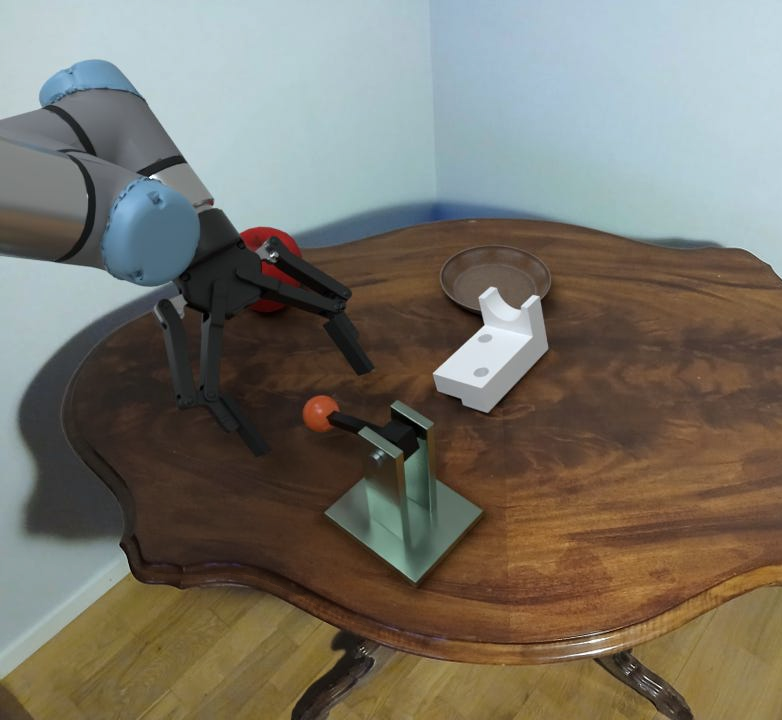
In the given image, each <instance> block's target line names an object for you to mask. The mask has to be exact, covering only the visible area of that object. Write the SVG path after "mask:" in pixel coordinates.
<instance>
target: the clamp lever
mask: <svg viewBox="0 0 782 720" xmlns="http://www.w3.org/2000/svg"><path fill="white" fill-rule="evenodd" d="M302 420H303V422H304V424H305V425H306V426H307V427H308V429H310V430H312V431H313V432H317V433H327V432H329V431H331V430H333V429H334V428H338V429H341V430H343V431H346V432H349V433H352V434H353V435H356V436H358V432H359V431H360V430H362V429H363V428H364V427H365V426H366V427H368V428H369V429H371V430H372V431H374V432H375V433H377V434H378V435H380V436H381V437H383V438H384V439H386V440H387V441H389V442H390V443H392V444H393V445H395V446H396V447H398V448H399V449H401V450H402V451H403V456H404V462H405V461H406V460H407V459H408V458H410V457H411V456H412V455H413V454H414V453H415V452H416V451H417V450H418V449H419V448H420V445H419V443H418V440H417V438H416V435H415V432H414V430H413V427H411V426H408V425H405V424H402V423H399V422H396V421H393V420H389V421H388V422H387V423H386V424H384V426H381V425H377V424H375V423H372V422H369V421H366V420H363V419H360V418H357V417H355V416H352V415H350V414H346V413H343V412H341V409H340V406H339V404H338V402H337V401H336V400H335V399H333V398H332V397H330V396H328V395H323V394H322V395H319V394H318V395H315V396H312V397H311V398H310V399H309V400H307V401H306V402H305V404H304V406H303V407H302Z"/></svg>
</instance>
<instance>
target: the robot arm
mask: <svg viewBox="0 0 782 720" xmlns="http://www.w3.org/2000/svg"><path fill="white" fill-rule="evenodd" d="M38 102H39V103H40V106H41V108H38V109H35V110H31V111H27V112H23V113H20V114H17V115H13V116H9V117H5V118H2V119H0V257H6V258H15V259H22V260H31V261H39V262H40V261H41V262H49V263H55V264H62V265H69V266H70V265H71V266H77V267H78V266H79V267H88V268H93V269H97V270H101V271H104V272H106V273H108V274H109V275H110V276H112V277H113V278H114V279H116V280H117V281H118V280H119V281H126V282H128V283H131V284H134V285H136V286H139V287H144V288H147V287H148V288H154V287H160V286H163V285H165V284H169V283H171V282H172V283H173V284H174V285H175V286H176V288H177V290H178V295H176V296H173V297H171V298H169V299H168V298H161V299H160V300H159V301H158V302H157V303H156V304H155V305H154V306H153V308H152V310H151V313H152V315H153V317H154V319H155V321H156V322H157V324H158V325H159V327H160V329H161V330H162V334H163V340H164V345H165V350H166V351H165V352H166V357H167V362H168V367H169V372H170V373H169V374H170V378H171V383H172V389H173V395H174V400H175V405H176V408H177V409H178V410H179V411H181V412H185V411H189V410H191V409H196V408H203V409H205V410H206V411H207V413H208V414H209V415H210V416H211V418H212V419H213V421H214V422H216V423H215V424H216V425H218V427H219V428H220V429H221V431H222V432H224V433H226V434H228V435H229V434H232V433H233V432H236V434H237V435H238V436H239V438H241V440H242V441H243V442H244V444H245V445H246V446H247V448H248V449H249V451H251V453H252V454H253V455H254V457H255V458H258V457H262V456H265V455H267V454H269V453H270V452H271V451H273V449H272V447H271V446H270V445H269V443H268V442H267V441H266V439H265V438H264V437H263V436H262V434H261V433H260V432H259V430H258V429H257V428H256V426H255V425H254V424H253V422H252V421H251V419H250V418H249V417H248V416H247V414H246V413H245V412H244V410H243V409H242V407H241V406H240V405H239V403H237V401H236V399H235V398H234V397H233V395H232V394H230V392H229V391H227V392H226V393H224V394H223V395H221V396H220V395H219V394H220V380H221V379H220V378H221V377H220V376H221V360H222V346H223V345H222V344H223V330H224V326H225V322H226V320H227V321H230V320H231V319H233V318H234V317H236V316H237V315H238V314H240V313H241V312H242V311H243V310H246V309H249V307H250V306H252V305H253V304H255V303H256V302H257V301H258V300H260V299H264V300H272V301H275V302H278V303H281V304H284V305H286V306H288V307H291V308H294V309H297V310H300V311H303V312H306V313H310V314H312V315H315V316H317V317H322V318H325V319H328V321H326V322H324V324H322V327H323V329H324V330H325V332H326V333H327V335H328V336H329V337H330V339H331V341H333V343H334V344H335V346H336V347H337V348H338V350H339V351H340V353H341V354H342V356H343V357H344V358H345V360H346V361H347V363H348V364H349V366H350V367H351V368H352V370H353V371H354V372H355V374H356V375H357V377H361V376H363V375H366V374H369V373H371V372H373V370H376V366H375V365H374V364H373V362H372V361H371V360H370V358H369V357H368V356H367V354H366V353H365V351H364V349H363V348H362V347H361V345H360V344H359V342H358V341H357V340H359V339H360V338H361V335H360V332H359V331H358V329H357V327H356V326H355V325H354V323H353V322H352V320H351V319H350V317H348V315H347V313H346V312H345V310H346V309H347V303H348V301H349V300H350V299H351V298H352V296H353V291H352V290H351V289H350V288H349V287H347V286H346V285H345V284H343V283H341V282H340V281H338V280H337V279H335V278H333V277H332V276H330V275H328V274H326V273H325V272H323V271H322V270H320V269H319V268H318V267H316V266H314V265H313V264H311V263H310V262H308V261H306V260H305V259H303V257H302V258H300V257H298V256H297V255H295V254H294V253H292V252H291V251H290V250H289V249H288V248H287V247H286V246H285V244H284V243H283V242H282V241H281V240H280V239H279V238H278V237H277V236H271V237H270V238H269V239H268V240H267V241H266V242H265V243H264V244H263V245H262V246H261V247H260V248H259V249H257V250H256V251H255V252H254V251H252V250H251V249H249V248H248V247H247V246H246V245H245V243H244V241H243V239H242V237H241V236H240V234H239V233H240V232H239V231H238V230H237V229H236V228H237V227H235V225H234V224H233V223H232V221H231V219H229V217H228V216H227V215H226V213H225V212H224V210H223V209H222V208H218V207H213V206H214V205H215V200H216V199H215V197H214V196H213V195H212V194H211V192H210V191H209V190H208V188H207V186H206V185H205V183H204V182H203V181H202V180H201V178H200V177H199V175H198V174H197V173H196V171H195V170H194V169H193V167H192V166H191V165H190V163H189V162H188V161H187V160H186V158H185V156H184V155H183V153H182V152H181V151H180V149H179V147H177V145H176V143H175V142H174V140H173V139H172V138H171V136H170V135H169V134H168V132H167V131H166V129H165V128H164V126H163V125H162V123H161V122H160V120H159V119H158V118H157V116H156V115H155V113H154V112H153V110H152V109H151V107H150V106H149V103H148V102H147V99H146V98H145V97H143V95H142V94H141V93H140V92H139V91H138V90H137V88H136V87H135V86H134V84H133V83H132V82H131V81H130V79H129V78H128V77H127V76H126V75H125V74H124V73H123V72H122V70H121V69H120V68H119V67H117V65H115V64H114V63H113V62H111V61H107V60H106V59H105V60H104V59H98V58H97V59H96V58H94V59H86V60H82V61H81V60H80V61H78V62H75V63H74V64H72V65H71V66H70V67H68V68H65V69H61V70H58V71H57V72H56V73H54V74H53V75H52V76H51V77H50V78H48V79H47V80H46V81H45V82H44V83H43V85H42V86H41V88H40V90H39V94H38ZM262 261H263V262H265V263H266V264H268V265H274V266H275V267H276V268H277V269H279V270H280V271H282V272H283V273H285V274H287V275H288V276H290V277H292V278H293V279H295V280H296V281H298V282H300V285H303V286H305V287H306V288H308V289H309V290H311V291H313V292H311V291H309V290H305V289H303V288H300V287H299V288H297V287H294V286H291V285H288V284H285V283H283V282H281V281H280V280H279V279H277V278H274V277H271V276H268V275H265V274H263V273H262ZM185 307H186V308H188V309H191V310H193V311H195V312H199V313H200V314H201V321H200V322H201V324H200V332H201V341H200V342H201V343H200V354H199V369H198V371H199V372H198V386H197V389H196V385H195V380H194V373H193V369H192V363H191V359H190V353H189V348H188V341H187V337H186V331H185V326H184V323H183V319H184V318H185V315H186V314H185ZM196 390H197V391H196Z"/></svg>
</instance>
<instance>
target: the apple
mask: <svg viewBox="0 0 782 720" xmlns="http://www.w3.org/2000/svg"><path fill="white" fill-rule="evenodd" d="M238 233H239V234H240V236H241V237H242V239H243V241H244V243H245V245H246V246H247V247H248V248H249V249H251V250H252V251H254V252H255V251H256V250H257V249H259V248H260V247H261V246H262V245H263V244H264V243H265V242H266V241H267V240H268V239H269V238H270V237H271V236H277V237H278V238H279V239H280V240H281V241H282V242H283V243H284V244H285V246H286V247H287V248H288V249H289V250H290V251H291V252H292V253H294V254H295V255H297V256H298V257H300V258H302V259H303V255H302V251H301V249H300V247H299V245H298V244H297V242H296V239H294V238H293V237H292V236H291V235H290V234H289V233H287V232H285V231H284V230H281V229H278V228H275V227H271V226H256V227H251V228H248V229H245V230H243V231H241V232H238ZM262 273H263V274H265V275H268V276H271V277H274V278H277V279H279V280H280V281H281V282H283V283H285V284H288V285H291V286H294V287H297V288H300V285H301V283H300V282H298V281H296V280H295V279H293V278H292V277H290V276H288V275H287V274H285V273H283V272H282V271H280V270H279V269H277V268H276V267H275V266H274V265H268V264H266V263H265V262H263V261H262ZM286 306H287V305H284V304H281V303H278V302H275V301H272V300H264V299H260V300H258V301H257V302H256V303H255V304H253V305H252V306H250V307H248V309H250V310H253V311H256V312H259V313H272V312H276V311H279V310H282V309H283V308H284V307H286Z"/></svg>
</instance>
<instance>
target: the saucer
mask: <svg viewBox="0 0 782 720" xmlns="http://www.w3.org/2000/svg"><path fill="white" fill-rule="evenodd" d="M439 284H440V286H441V288H442V290H443V291H444V293H445V295H447V296H448V298H450V299H451V300H452V301H453V302H454V303H456V304H457V305H458V306H460V307H462V308H463V309H465V310H466V311H468V312H470V313H471V312H472V313H473V314H477V315H480V316H482V311H481V307H480V303H479V298H478V297H480V296H481V295H482V294H483V293H484V292H485V291H486V290H488V289H489V288H490V287H495V288H497V290H498V293H499V295H500V296H501V298H502V299H503V301H504V302H505V303H506V304H508V305H509V306H510V307H512V308H514V309H517V310H521V306H522V305H523V304H524V303H525V302H526V301H527V300H528V299H529V298H530V297H531V296H532V295H535V296H540V301H541V300H542V299H544V297H545V296H546V295H547V294H548V293H549V291H550V288H551V286H552V276H551V272H550V269H549V268H548V266H547V265H546V264H545V263H544V262H543V261H542V260H541V259H540V258H539V257H537V256H536V255H534V254H533V253H530V252H529V251H527V250H524V249H521V248H519V247H514V246H509V245H502V244H484V245H476V246H472V247H471V246H470V247H468V248H465V249H463V250H460V251H458V252H456V253H454V254H453V255H452V256H450V257H449V258H448V259H447V260H446V261H445V262H444V263H443V265H442V267H441V268H440V272H439Z"/></svg>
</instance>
